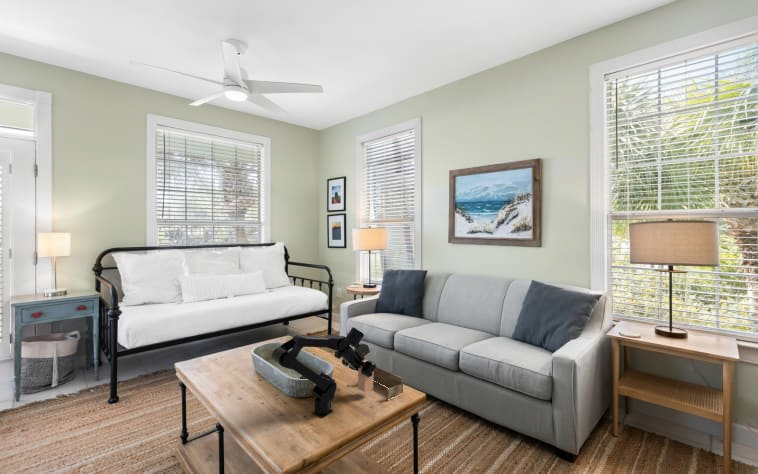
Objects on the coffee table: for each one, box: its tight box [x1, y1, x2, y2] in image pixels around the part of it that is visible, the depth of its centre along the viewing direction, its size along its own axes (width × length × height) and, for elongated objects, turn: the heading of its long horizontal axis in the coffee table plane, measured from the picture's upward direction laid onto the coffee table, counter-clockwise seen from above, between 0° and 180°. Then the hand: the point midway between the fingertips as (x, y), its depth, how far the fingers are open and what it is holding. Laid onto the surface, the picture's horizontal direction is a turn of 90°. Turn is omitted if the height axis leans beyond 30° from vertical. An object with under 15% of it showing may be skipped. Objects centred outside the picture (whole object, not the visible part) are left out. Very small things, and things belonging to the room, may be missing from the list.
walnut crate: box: [373, 365, 404, 400], centre depth 168 cm, size 9×21×8 cm, turn 42°
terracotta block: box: [357, 359, 374, 393], centre depth 162 cm, size 5×5×12 cm
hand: (368, 373), depth 163 cm, fingers closed on terracotta block, 5 cm apart
